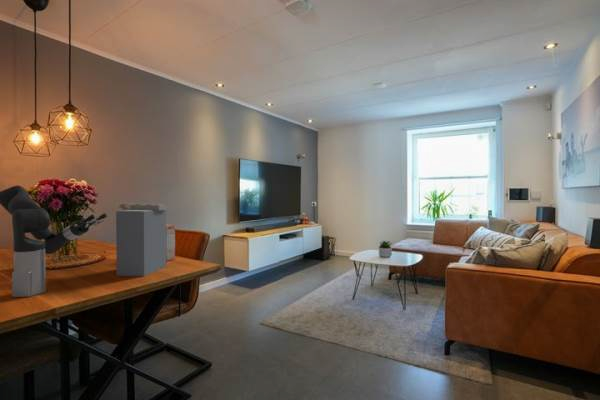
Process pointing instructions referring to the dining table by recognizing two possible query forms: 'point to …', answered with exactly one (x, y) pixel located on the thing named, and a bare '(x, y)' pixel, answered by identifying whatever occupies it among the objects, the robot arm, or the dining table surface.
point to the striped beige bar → (127, 206)
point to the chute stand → (141, 240)
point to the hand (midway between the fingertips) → (100, 215)
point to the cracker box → (170, 242)
